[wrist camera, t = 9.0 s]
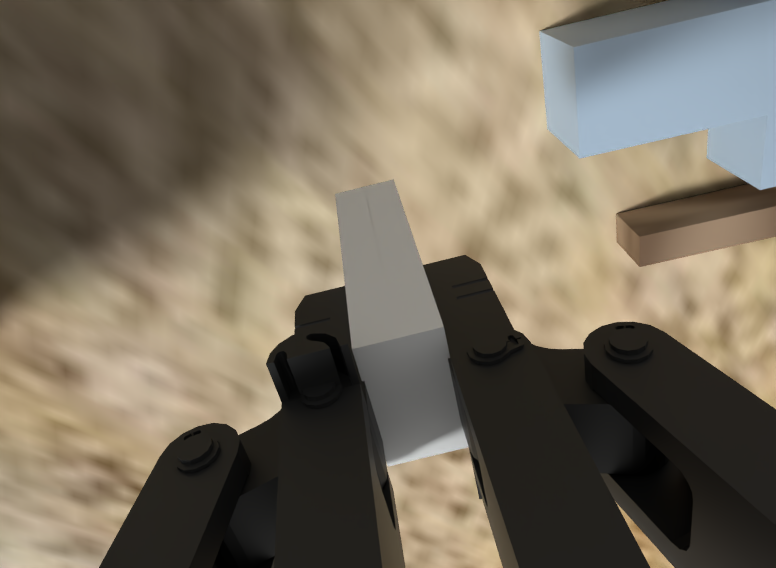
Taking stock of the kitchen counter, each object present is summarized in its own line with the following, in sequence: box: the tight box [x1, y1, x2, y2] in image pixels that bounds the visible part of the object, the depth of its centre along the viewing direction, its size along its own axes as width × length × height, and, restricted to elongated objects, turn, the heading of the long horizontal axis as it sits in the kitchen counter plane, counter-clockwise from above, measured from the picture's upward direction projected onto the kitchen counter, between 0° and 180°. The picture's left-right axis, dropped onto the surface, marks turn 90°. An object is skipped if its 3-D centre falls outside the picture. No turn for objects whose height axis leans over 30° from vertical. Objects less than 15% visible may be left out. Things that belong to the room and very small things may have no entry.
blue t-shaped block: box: [539, 0, 776, 190], centre depth 23 cm, size 10×10×4 cm
